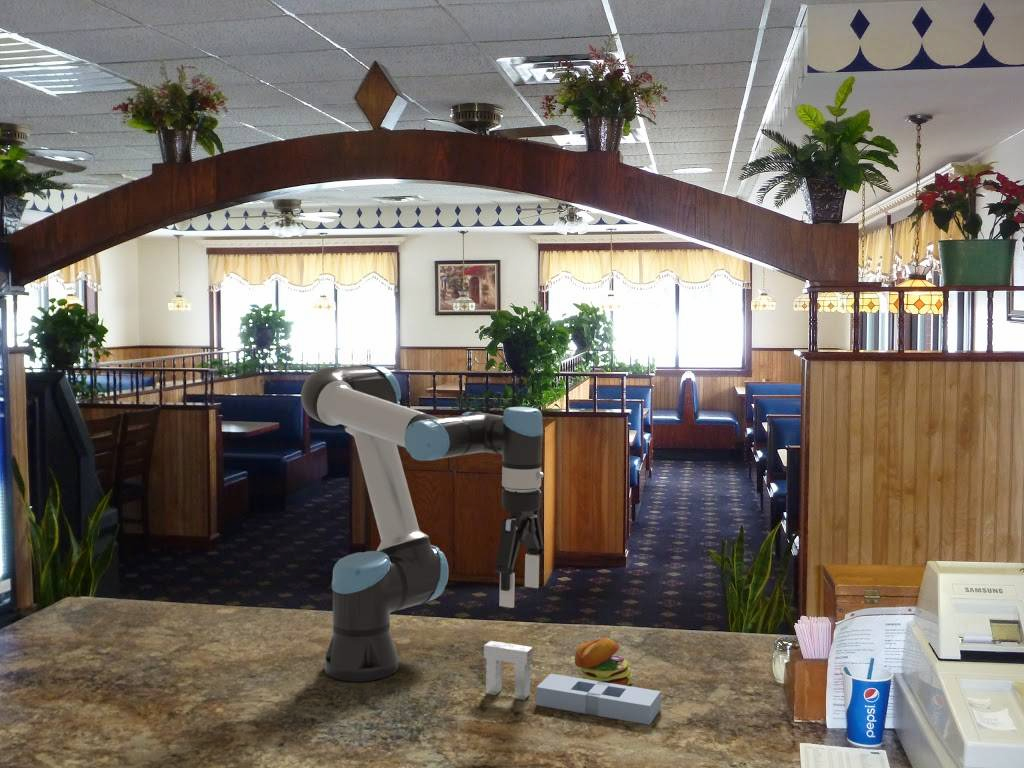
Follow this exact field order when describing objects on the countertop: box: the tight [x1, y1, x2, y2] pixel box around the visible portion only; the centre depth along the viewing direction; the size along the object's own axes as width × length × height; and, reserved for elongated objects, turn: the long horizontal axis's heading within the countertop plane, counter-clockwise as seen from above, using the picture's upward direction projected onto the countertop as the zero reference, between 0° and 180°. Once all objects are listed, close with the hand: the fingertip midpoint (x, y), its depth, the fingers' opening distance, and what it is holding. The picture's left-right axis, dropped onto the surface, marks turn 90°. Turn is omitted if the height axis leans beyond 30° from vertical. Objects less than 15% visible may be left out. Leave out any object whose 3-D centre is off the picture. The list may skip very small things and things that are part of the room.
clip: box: [483, 640, 534, 701], centre depth 195 cm, size 9×3×10 cm, turn 67°
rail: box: [535, 673, 662, 726], centre depth 190 cm, size 22×8×4 cm, turn 67°
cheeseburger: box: [574, 637, 633, 686], centre depth 202 cm, size 10×11×10 cm
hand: (519, 596), depth 195 cm, fingers open, 13 cm apart
